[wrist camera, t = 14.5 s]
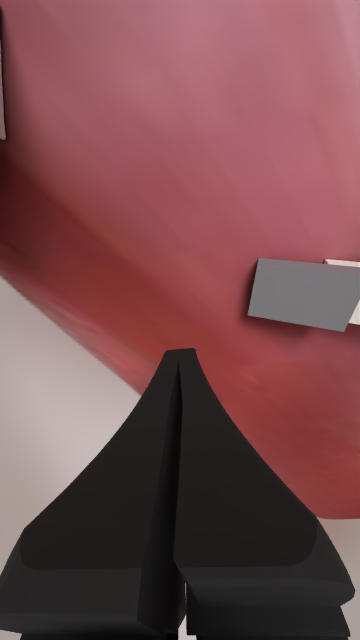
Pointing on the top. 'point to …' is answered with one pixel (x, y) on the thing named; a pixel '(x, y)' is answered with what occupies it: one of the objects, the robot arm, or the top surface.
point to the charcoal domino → (305, 293)
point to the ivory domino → (359, 312)
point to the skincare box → (1, 106)
